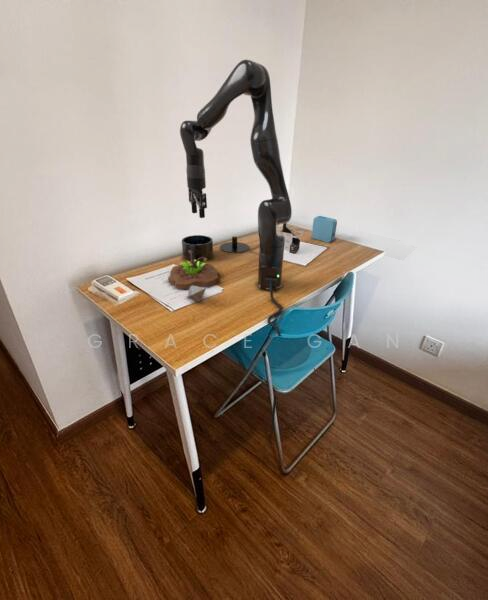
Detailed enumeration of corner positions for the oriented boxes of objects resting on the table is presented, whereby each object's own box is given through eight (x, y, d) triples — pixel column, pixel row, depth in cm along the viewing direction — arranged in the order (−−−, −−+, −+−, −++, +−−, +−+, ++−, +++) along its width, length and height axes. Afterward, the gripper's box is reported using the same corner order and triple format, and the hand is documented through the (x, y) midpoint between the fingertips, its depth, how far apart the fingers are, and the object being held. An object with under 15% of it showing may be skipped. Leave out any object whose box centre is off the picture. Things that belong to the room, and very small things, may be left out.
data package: (334, 241, 176) (337, 219, 170) (330, 243, 173) (333, 221, 167) (315, 236, 182) (317, 215, 176) (311, 238, 179) (313, 216, 173)
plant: (213, 265, 141) (212, 241, 136) (223, 285, 125) (222, 258, 120) (166, 270, 136) (163, 245, 130) (170, 291, 120) (167, 263, 114)
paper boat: (182, 290, 118) (204, 280, 121) (190, 306, 119) (212, 295, 121) (184, 287, 107) (209, 276, 109) (193, 304, 107) (218, 293, 110)
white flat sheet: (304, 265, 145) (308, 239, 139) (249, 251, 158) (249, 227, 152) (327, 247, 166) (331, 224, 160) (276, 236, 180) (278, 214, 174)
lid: (246, 255, 153) (246, 243, 150) (216, 252, 155) (216, 240, 152) (251, 245, 166) (251, 233, 163) (224, 243, 168) (223, 231, 165)
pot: (208, 264, 142) (207, 246, 138) (178, 261, 144) (177, 243, 140) (216, 253, 154) (216, 236, 150) (188, 251, 156) (187, 234, 152)
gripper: (181, 174, 136) (184, 212, 144) (194, 179, 125) (196, 220, 133) (197, 173, 139) (199, 210, 147) (211, 178, 129) (213, 218, 137)
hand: (198, 215), depth 140 cm, fingers open, 8 cm apart
